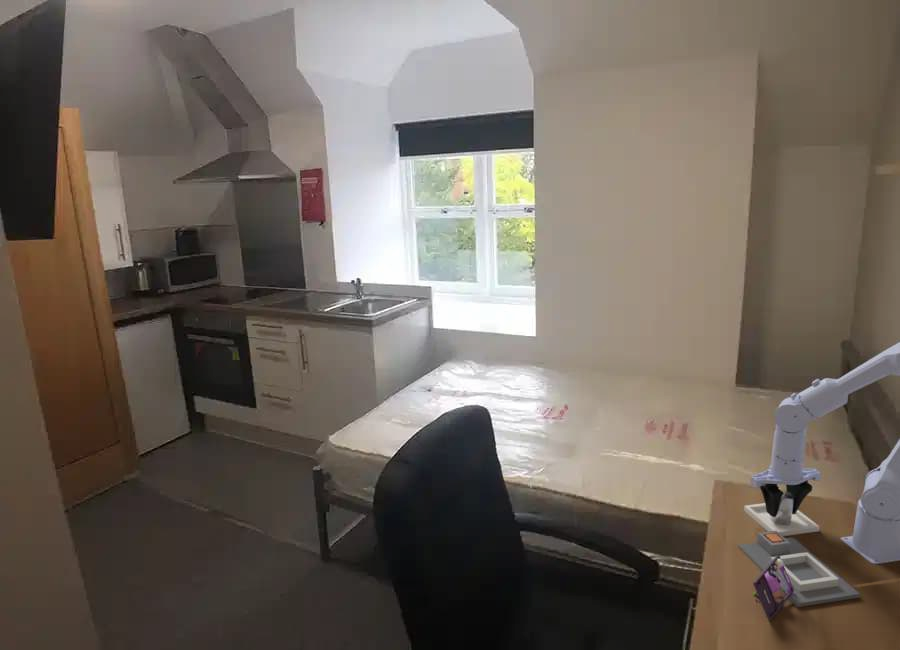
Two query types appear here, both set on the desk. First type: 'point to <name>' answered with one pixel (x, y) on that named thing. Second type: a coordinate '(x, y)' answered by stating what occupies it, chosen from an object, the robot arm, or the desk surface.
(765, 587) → the eggplant monster toy
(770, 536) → the button
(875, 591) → the desk surface
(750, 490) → the desk surface
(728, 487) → the desk surface
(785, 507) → the cylinder
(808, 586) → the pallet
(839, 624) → the desk surface
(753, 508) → the tray
